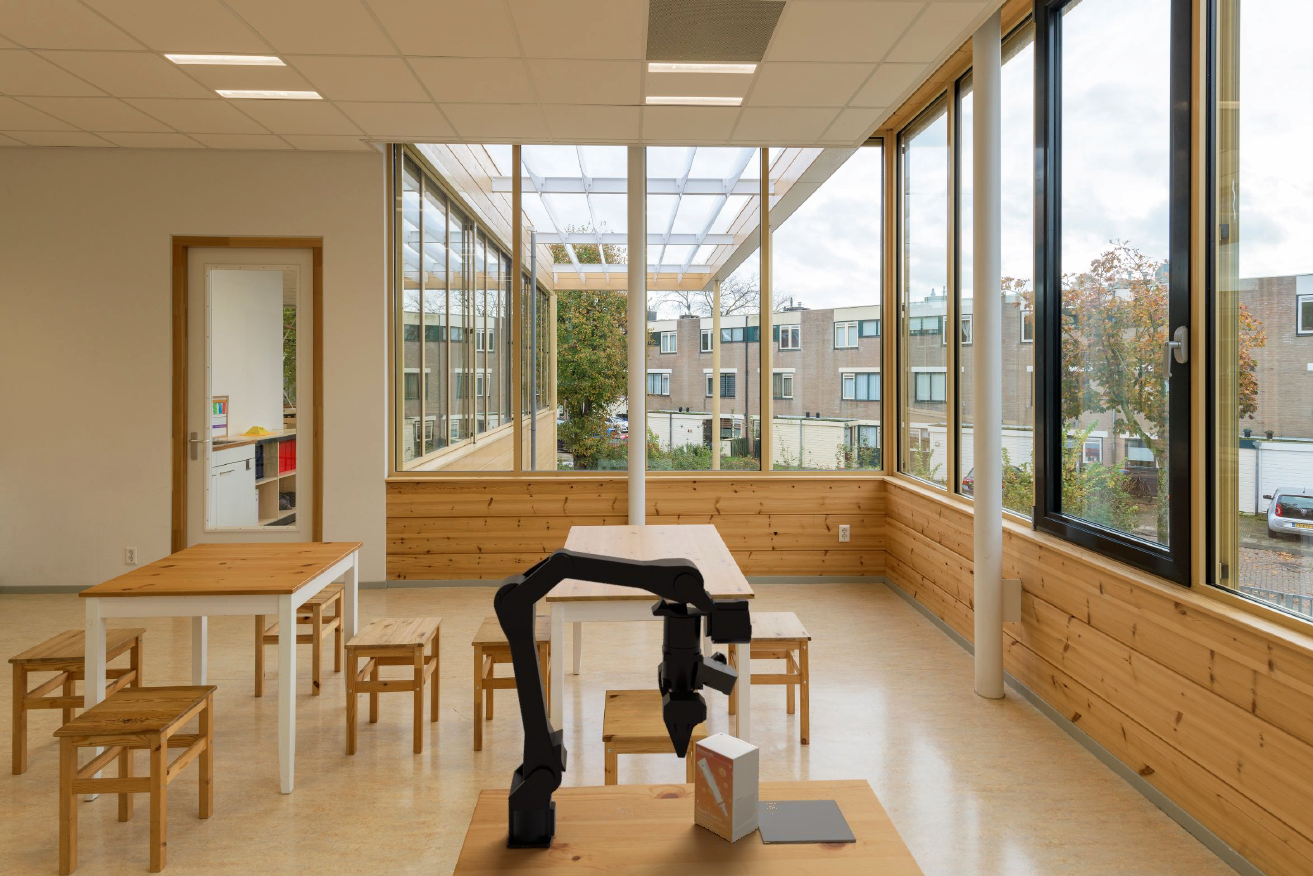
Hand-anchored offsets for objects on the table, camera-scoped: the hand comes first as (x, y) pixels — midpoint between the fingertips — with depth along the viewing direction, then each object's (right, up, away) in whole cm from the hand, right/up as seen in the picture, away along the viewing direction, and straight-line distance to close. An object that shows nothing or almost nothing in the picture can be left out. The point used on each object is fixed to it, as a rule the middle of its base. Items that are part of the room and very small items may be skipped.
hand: (679, 744), depth 122 cm
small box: (+7, -14, +2) cm, 16 cm away
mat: (+19, -14, +4) cm, 24 cm away
